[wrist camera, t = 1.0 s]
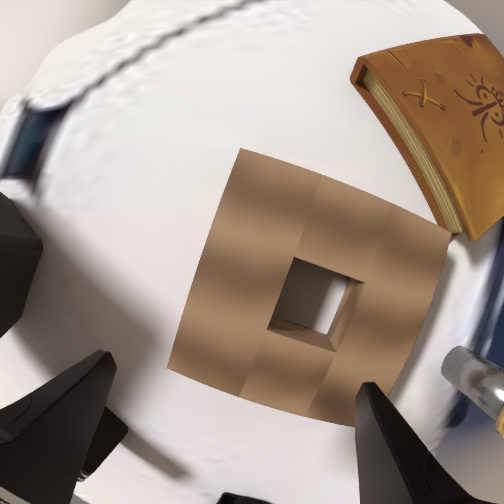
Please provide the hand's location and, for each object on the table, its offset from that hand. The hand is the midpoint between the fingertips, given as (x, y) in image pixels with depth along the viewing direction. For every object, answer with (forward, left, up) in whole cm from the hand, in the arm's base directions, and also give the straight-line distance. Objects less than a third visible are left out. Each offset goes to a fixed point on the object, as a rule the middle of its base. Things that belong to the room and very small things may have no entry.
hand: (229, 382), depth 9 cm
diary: (+26, -16, -16) cm, 34 cm away
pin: (0, -23, -16) cm, 28 cm away
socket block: (+2, -4, -16) cm, 16 cm away
